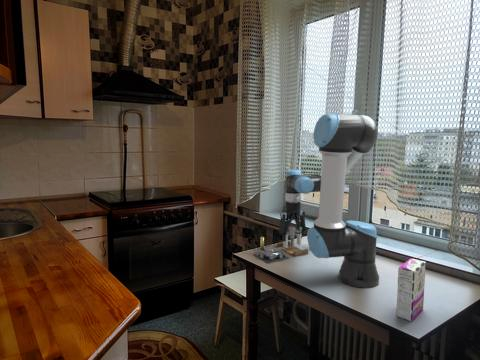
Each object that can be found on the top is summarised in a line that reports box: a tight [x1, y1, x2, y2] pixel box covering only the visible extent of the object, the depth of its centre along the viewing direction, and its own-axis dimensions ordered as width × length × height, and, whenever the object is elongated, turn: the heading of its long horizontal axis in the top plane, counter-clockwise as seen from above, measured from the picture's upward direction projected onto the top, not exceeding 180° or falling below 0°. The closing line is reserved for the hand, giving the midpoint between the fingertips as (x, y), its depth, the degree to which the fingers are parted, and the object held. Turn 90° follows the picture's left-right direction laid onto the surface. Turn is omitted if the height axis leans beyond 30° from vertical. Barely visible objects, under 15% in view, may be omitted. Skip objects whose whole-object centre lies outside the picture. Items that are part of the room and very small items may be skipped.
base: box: [253, 252, 290, 264], centre depth 156 cm, size 12×12×1 cm
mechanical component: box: [286, 225, 303, 247], centre depth 163 cm, size 3×10×10 cm, turn 89°
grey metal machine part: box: [257, 236, 286, 259], centre depth 155 cm, size 13×13×8 cm
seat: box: [276, 240, 309, 258], centre depth 164 cm, size 15×8×2 cm, turn 29°
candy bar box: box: [396, 258, 427, 322], centre depth 105 cm, size 11×5×16 cm, turn 135°
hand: (292, 245), depth 164 cm, fingers closed on mechanical component, 8 cm apart
